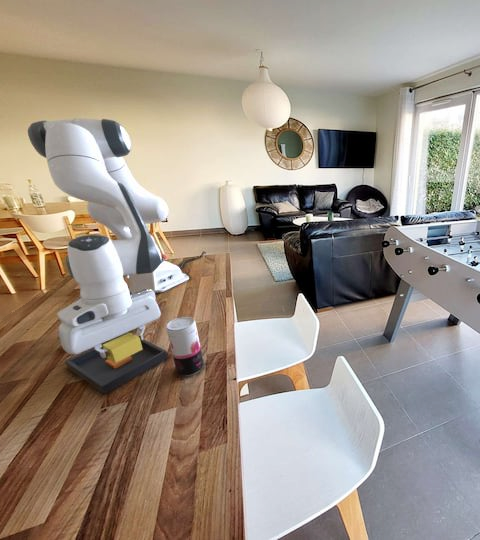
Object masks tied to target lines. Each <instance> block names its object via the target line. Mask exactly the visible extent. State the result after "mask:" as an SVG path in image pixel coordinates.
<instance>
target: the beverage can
mask: <svg viewBox="0 0 480 540" xmlns="http://www.w3.org/2000/svg"><path fill="white" fill-rule="evenodd" d="M165 328H166V329H165V330H166V334H167V337H168V341H169V347H170V350H171V354H172V359H173V362H174V367H175V371H176V374H177V375H179V376H182V377H190V376H193V375H196V374H198V373H199V372H200V371H201V370H202V369H203V368H204V365H205V363H204V359H203V353H202V348H201V343H200V338H199V333H198V328H197V322H196V320H195V319H194V318H193V317H190V316H181V317H177V318H174V319H172V320H171V321H169V322H168V323H167V324H166V327H165Z"/></svg>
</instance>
